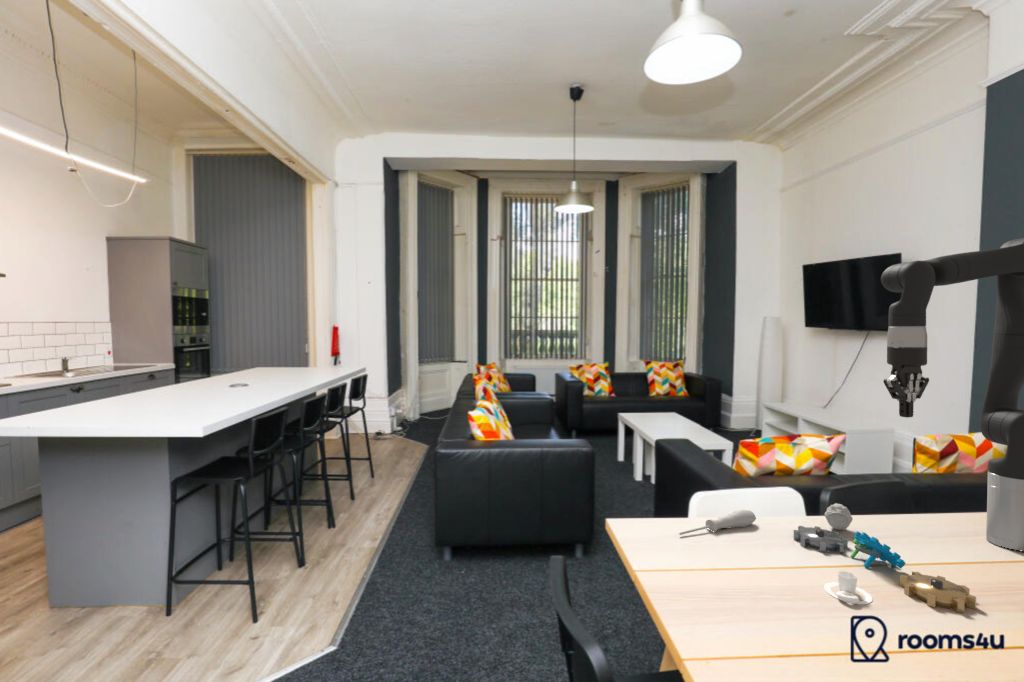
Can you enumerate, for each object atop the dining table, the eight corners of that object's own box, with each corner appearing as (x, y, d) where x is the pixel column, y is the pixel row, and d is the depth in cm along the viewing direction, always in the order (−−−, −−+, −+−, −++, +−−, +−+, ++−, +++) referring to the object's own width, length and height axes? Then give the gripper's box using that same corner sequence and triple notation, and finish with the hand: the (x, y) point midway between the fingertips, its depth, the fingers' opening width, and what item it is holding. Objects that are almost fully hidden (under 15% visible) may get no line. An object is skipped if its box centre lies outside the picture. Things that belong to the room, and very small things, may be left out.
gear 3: (906, 575, 103) (906, 561, 103) (979, 597, 94) (979, 582, 94) (894, 594, 95) (894, 579, 95) (971, 620, 87) (972, 603, 87)
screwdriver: (673, 541, 124) (670, 524, 125) (747, 522, 133) (744, 506, 133) (686, 544, 120) (683, 526, 120) (761, 524, 128) (758, 508, 129)
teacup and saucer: (855, 612, 90) (856, 590, 90) (812, 591, 97) (813, 571, 97) (881, 600, 94) (881, 579, 94) (838, 581, 101) (838, 562, 101)
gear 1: (816, 530, 126) (816, 519, 126) (858, 549, 115) (859, 537, 115) (783, 536, 122) (783, 524, 122) (824, 556, 112) (824, 543, 112)
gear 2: (918, 569, 102) (884, 536, 102) (902, 591, 101) (867, 557, 101) (875, 553, 113) (844, 523, 113) (860, 572, 112) (829, 542, 112)
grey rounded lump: (824, 531, 125) (825, 505, 125) (824, 522, 131) (824, 497, 131) (853, 537, 122) (853, 509, 122) (851, 527, 128) (851, 501, 128)
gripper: (908, 344, 122) (907, 412, 122) (871, 345, 117) (870, 416, 118) (943, 345, 114) (942, 417, 115) (905, 346, 110) (904, 421, 111)
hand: (906, 416), depth 116 cm, fingers closed
